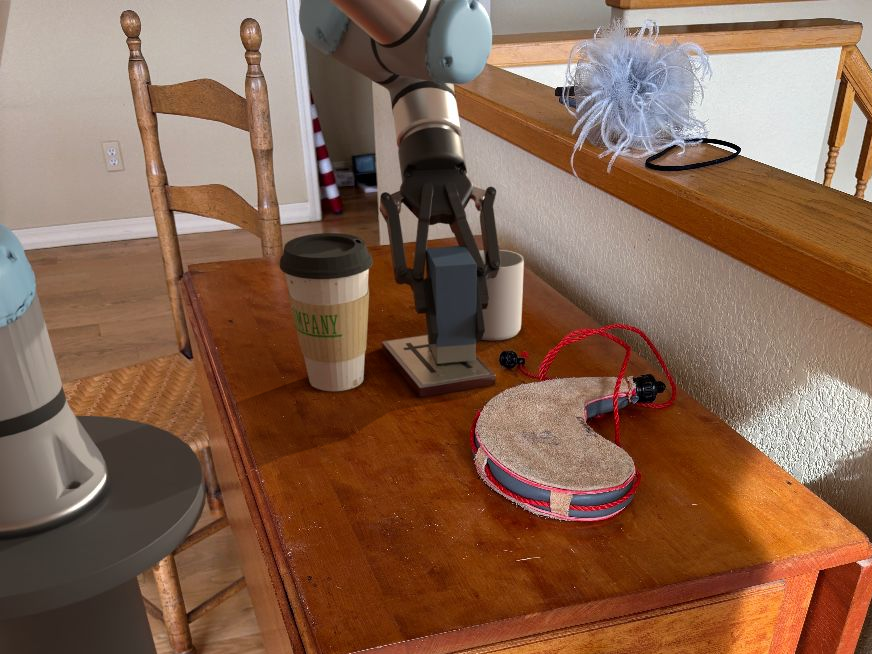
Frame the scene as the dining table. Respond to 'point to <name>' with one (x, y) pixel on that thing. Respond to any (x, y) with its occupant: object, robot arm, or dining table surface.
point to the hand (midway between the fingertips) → (457, 336)
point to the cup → (504, 298)
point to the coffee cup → (329, 305)
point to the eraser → (453, 302)
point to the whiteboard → (434, 368)
